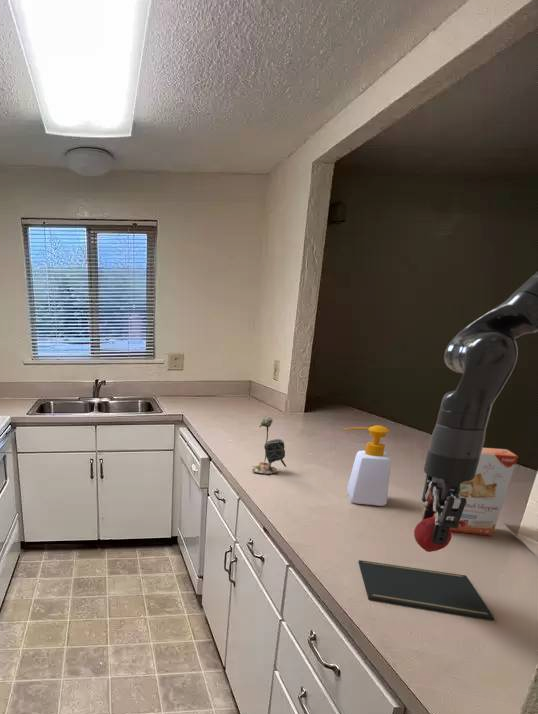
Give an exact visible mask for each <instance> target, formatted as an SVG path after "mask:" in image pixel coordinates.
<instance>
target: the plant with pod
mask: <svg viewBox="0 0 538 714" xmlns="http://www.w3.org/2000/svg"><path fill="white" fill-rule="evenodd" d="M272 424H273V418H272V417H269V416H268V415H264V417H263V419H261V422H260V425H259V428H261V427H266V438H265V439H266V440H265V443H264V446H263V448H264V452H265V455H264V462H263V461H260V462H259V465H256V466H252V472H254V473H258V474H265V475H267V474H276V473H279V472H278V469H277V468H276V467H275V466H272V463H275V462H279V461H280V463H282V465H283V466H284V467H285V468H287V465H286V463H285V461H284V458H285V457H286V450H285V441H284V440H283V439H280V438H275V439H270V440H269V428H270V427H271V426H272ZM266 460H267V462H266Z"/></svg>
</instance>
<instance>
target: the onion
mask: <svg viewBox="0 0 538 714" xmlns="http://www.w3.org/2000/svg"><path fill="white" fill-rule="evenodd" d="M435 517H436V513H435V514H434V516H433V517H431V518H427V519H424V520H422V519H421V521H420V522H419V523H417V524H416V526H415V528H414V530H413V536H414V539H415V540H414V541H415V542H416V543H417V544H418V546H419V547H420V548H422V549H423V550H424V551H425V552H427V553H431V552H432V553H433V552H437V551H439V550H442V549H444V548H446V547H447V546H448V545H449V544H450V542H451V540H452V535H453V534H452V531H451V530H450V529H449V533H448V537H447V541H446V543H445V544H444V545H440V544H434V543H432V541H431V536H432V532H433V529H434V525H435Z"/></svg>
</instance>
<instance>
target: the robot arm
mask: <svg viewBox="0 0 538 714" xmlns="http://www.w3.org/2000/svg"><path fill="white" fill-rule="evenodd" d="M535 333H538V270H537V271H535V273H534V274H532V275H531V276H530V277H529V278H527V280H526V281H525V282H524V283H522V284H521V285H520V286H519V287H518V288H516V290H515V291H514V292H513V293H511V294H510V295H509V296H508V297H507V298H506V299H505V300H503V302H501V303H499V304H498V305H497V306H495V307H494V308H492V309H491V310H489V311H487V312H485V313H484V314H483V315H481V316H480V317H478V318H476V319H475V320H474V321H472V322H471V323H469V324H468V325H467V326H465V327H463V329H461V330H460V331H459V332H458V333H457V334H456V335H454V337H453V338H451V340H450V342H449V343H448V344H447V346H446V348H445V351H444V354H443V359H444V363H445V365H446V367H447V368H448V369H450V371H453V372H455V373H458V374H462V376H461V378H460V379H459V380H460V381H459V383H458V385H457V387H456V388H455V389H452V390H448V391H447V392H446V393H445V394H444V395H443V397H442V399H441V402H440V406H439V410H438V414H437V418H436V422H435V426H434V429H433V431H432V433H431V435H430V436H431V437H430V441H429V445H428V450H427V453H426V458H425V462H424V466H423V472H424V473H425V474H426V475H425V480H424V487H423V492H422V497H421V502H422V503H423V509H424V508H425V511H424V510H423V512H424V515H423V514H422V516H423V519H422V518H421V521H422V520H424V519H427V518H431V517H433V516H434V514H435V513H436V517H435V525H434V529H433V532H432V536H431V541H432V543H434V544H440V545H444V544H445V543H446V541H447V537H448V533H449V529H450V527H451V528H457V526H458V524H459V521H460V518H461V515H462V512H463V510H464V507H465V504H466V498H461V489H460V484H461V483H463V482H465V481H471V480H472V479H474V477H475V474H476V470H477V467H478V463H479V459H480V456H481V452H482V449H483V448H484V445H485V441H486V433H487V427H488V424H489V421H490V416H491V413H492V410H493V409H492V408H493V405H494V403H495V401H496V400H497V398H498V396H499V395H500V394H501V392H502V390H503V389H504V387H505V385H506V384H507V381H508V380H509V378H510V376H511V375H512V373H513V371H514V369H515V366H516V364H517V361H518V357H519V356H518V354H519V352H518V351H519V348H518V344H517V341H516V340H517V338H520V337H523V336H527V335H531V334H535ZM441 506H444V508H441ZM441 513H442V514H441ZM447 517H448V520H446V518H447Z"/></svg>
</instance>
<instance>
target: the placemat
mask: <svg viewBox="0 0 538 714" xmlns="http://www.w3.org/2000/svg"><path fill="white" fill-rule="evenodd" d="M358 565H359V569H360V573H361V577H362V581H363V584H364V588H365V591H366V596H367V599H368V600H370V601H376V602H380V603H381V602H382V603H388V604H393V605H399V606H405V607H411V608H417V609H424V610H429V611H436V612H441V613H447V614H451V615H459V616H465V617H470V618H471V617H472V618H476V619H482V620H489V621H494V620H495V616H494V615H493V614H492V612H491V611H490V609H489V607H488V606H487V605H486V603H485V601H484V600H483V599H482V597H481V595H480V594H479V592H478V591H477V589H476V588H475V586H474V585H473V584H472V582H471V580H470V579H469V578H468V576H467V575H466V574H458V573H451V572H445V571H437V570H431V569H424V568H418V567H417V568H416V567H410V566H403V565H397V564H391V563H381V562H376V561H368V560H361V559H358Z"/></svg>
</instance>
